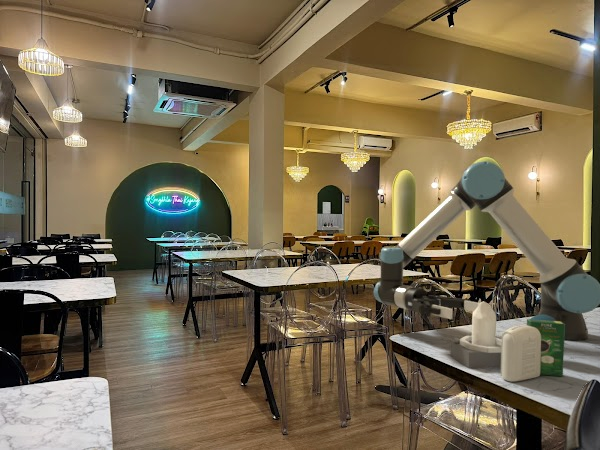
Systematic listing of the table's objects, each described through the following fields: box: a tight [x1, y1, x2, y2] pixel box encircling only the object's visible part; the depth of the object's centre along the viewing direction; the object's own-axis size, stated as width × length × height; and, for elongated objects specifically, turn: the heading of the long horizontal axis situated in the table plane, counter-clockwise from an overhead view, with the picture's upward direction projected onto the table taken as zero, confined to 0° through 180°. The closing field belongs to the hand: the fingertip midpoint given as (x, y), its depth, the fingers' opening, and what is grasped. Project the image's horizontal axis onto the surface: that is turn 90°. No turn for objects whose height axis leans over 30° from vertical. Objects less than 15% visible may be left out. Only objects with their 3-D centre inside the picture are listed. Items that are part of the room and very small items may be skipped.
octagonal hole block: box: [449, 335, 502, 369], centre depth 113 cm, size 14×11×5 cm
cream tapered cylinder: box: [471, 301, 497, 347], centre depth 113 cm, size 6×12×6 cm
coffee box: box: [526, 318, 565, 377], centre depth 103 cm, size 8×3×13 cm, turn 78°
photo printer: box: [500, 324, 541, 382], centre depth 101 cm, size 10×4×12 cm, turn 115°
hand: (468, 311), depth 117 cm, fingers open, 13 cm apart
